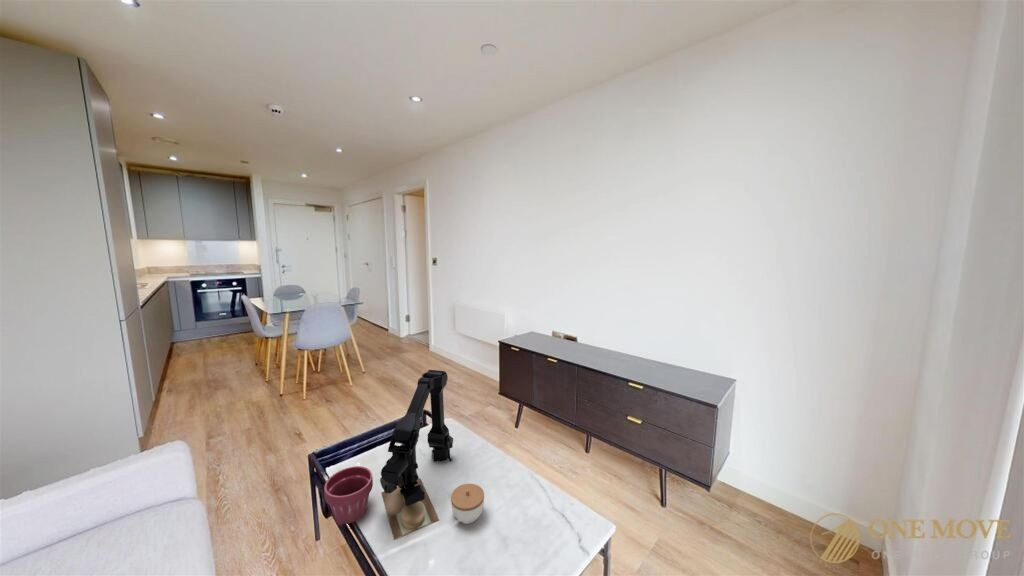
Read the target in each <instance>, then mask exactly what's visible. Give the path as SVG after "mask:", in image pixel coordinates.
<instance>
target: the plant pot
mask: <svg viewBox="0 0 1024 576" xmlns="http://www.w3.org/2000/svg"><path fill="white" fill-rule="evenodd" d="M373 479H374V478H373V474H372V471H371V470H370V469H369V468H367V467H366V466H363V465H362V466H361V465H360V466H358V465H357V466H356V465H355V466H350V467H346V468H343V469H341V470H340V469H339V470H338V471H337V472H335V473H334V474H332V475H331V476H330V477H329V478H328V479H327V480H326V482H325V484H324V488H323V489H324V490H323V491H324V500H325V503H326V504H327V505H329V507H330V509H331V510H330V511H331V512H332V515H333V517H334V518H333V519H334V521H335V522H336V525H338V526H340V527H343V525H348V524H352V523H354V522H356V521H358V520H360V518H362V517H363V516H364V515H365V513H366V511H367V509H368V503H369V497H370V493H371V491H372V490H373V486H374V485H373V483H374V481H373Z"/></svg>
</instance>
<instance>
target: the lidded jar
mask: <svg viewBox="0 0 1024 576" xmlns="http://www.w3.org/2000/svg"><path fill="white" fill-rule="evenodd" d="M450 502H451V509H452V513H453V515H454V518H456V520H457V521H459V522H460V523H461V524H463V525H469V524H472V523H474V522H475V521H476V520H478V519H479V517H480V515H481V514H482V512H483V509H484V503H485V491H484V490H483V488H482V487H481V486H479V485H478V484H475V483H465V484H460V485H459V486H457V487H456V488H455V489H453V491H452V492H451V496H450Z"/></svg>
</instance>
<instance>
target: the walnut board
mask: <svg viewBox="0 0 1024 576" xmlns="http://www.w3.org/2000/svg"><path fill="white" fill-rule="evenodd" d="M417 482H418V484H419V485H421V486H422V487H423V489H424V491H425V499H424V500H421V502H422V503H423V504H424V516H425V519H424V522H423V523H422V525H421V526H419V527H418V528H416V529H411V530H409V529H405V528H404V527H403V526H402V517H401V510H402V508H403V506H404V505H405V503H404V500H403V496H402V495H401V492H400V490H401V488H399V487H398V486H397V489H396V490H395V491H393V492H392V493H387V494H386V493H385V492H384V491H381V492H380V493H381V497H382V500H383V505H384V507H385V512H386V514H387V515H386V516H387V519H388V523H389V526H390V530H391V534H392V537H393V541H396V540H398V539H400V538H402V537H404V536H407V535H409V534H412V533H414V532H416V531H419V530H421V529H423V528H425V527H427V526H430V525H432V524H434V523H437V522H439V521H440V518H439V516H438V514H437V512H436V509H435V508H434V505H433V503H432V501H431V498H430V497H429V496H430V495H429V494H428V492H427V490H426V486H425V485H424V483H423V481H422V479H421V478H419V479H418V480H417Z"/></svg>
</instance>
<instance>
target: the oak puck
mask: <svg viewBox="0 0 1024 576" xmlns="http://www.w3.org/2000/svg"><path fill="white" fill-rule="evenodd" d="M401 517H402V526H403V527H404V528H405V529H409V530H411V529H416V528H418V527H419V526H421V525H422V523H423V522H424V519H425V516H424V504H423V503H422V502H421V501H419V502H416V503H414V504H412V505H409V506H405V505H404V506H403V508H402V510H401Z"/></svg>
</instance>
